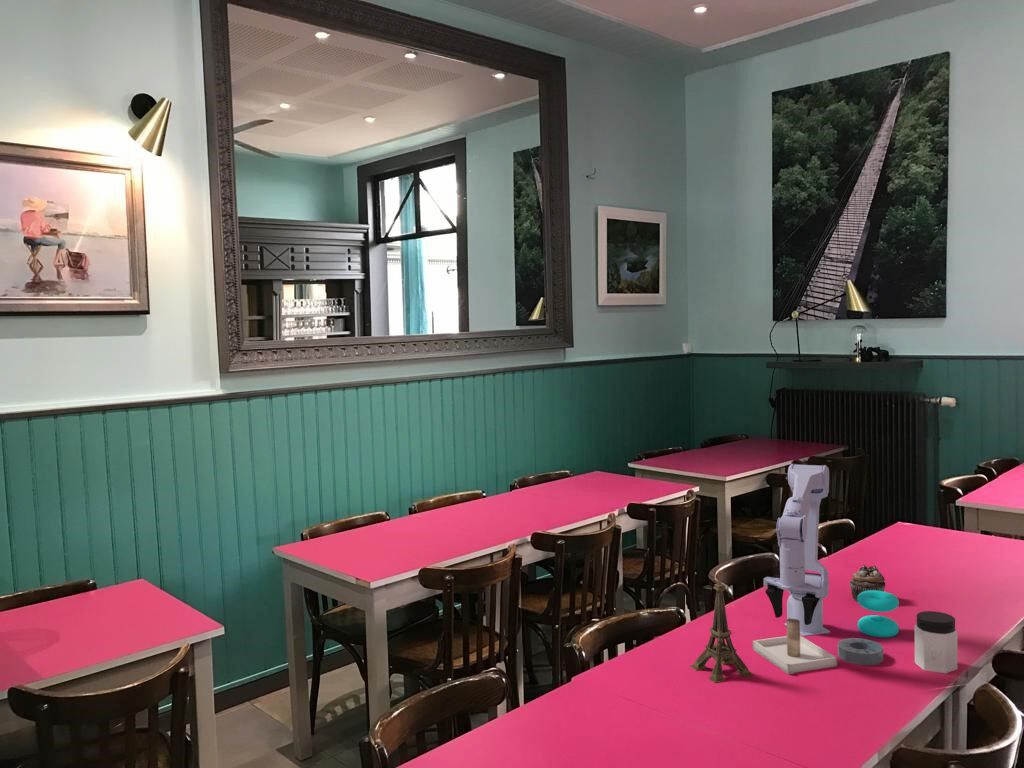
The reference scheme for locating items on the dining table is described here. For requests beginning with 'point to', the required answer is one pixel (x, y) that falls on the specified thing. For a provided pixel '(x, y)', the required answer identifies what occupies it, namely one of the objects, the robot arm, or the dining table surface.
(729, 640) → the eiffel tower
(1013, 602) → the dining table surface
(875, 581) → the cupcake
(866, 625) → the donuts
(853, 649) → the grey faceted ashtray
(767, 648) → the tray
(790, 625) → the pin
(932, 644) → the jar
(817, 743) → the dining table surface
